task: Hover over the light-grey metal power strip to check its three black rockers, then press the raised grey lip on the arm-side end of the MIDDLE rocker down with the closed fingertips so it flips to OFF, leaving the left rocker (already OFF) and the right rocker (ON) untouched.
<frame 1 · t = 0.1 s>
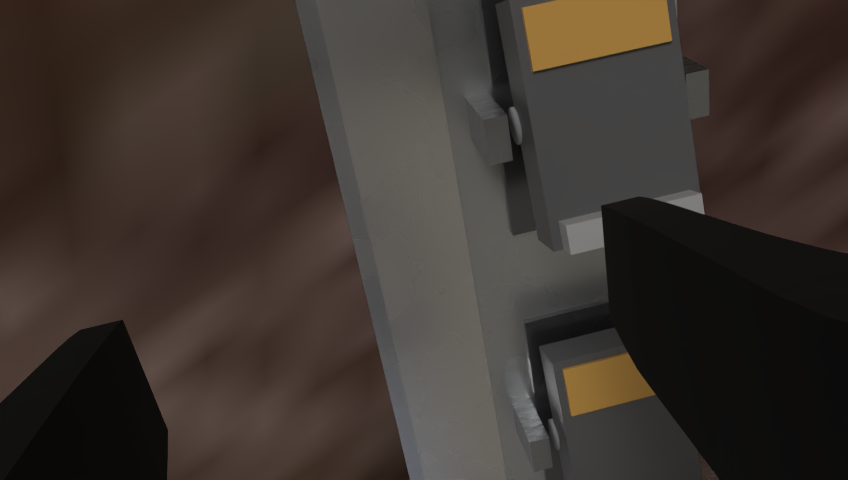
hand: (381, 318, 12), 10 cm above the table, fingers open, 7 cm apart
rocker 2: (623, 430, 20), point 5 cm above the table, hinge at 14.0°
rocker 3: (599, 110, 16), point 5 cm above the table, hinge at 14.0°
power strip: (511, 339, 25), on the table
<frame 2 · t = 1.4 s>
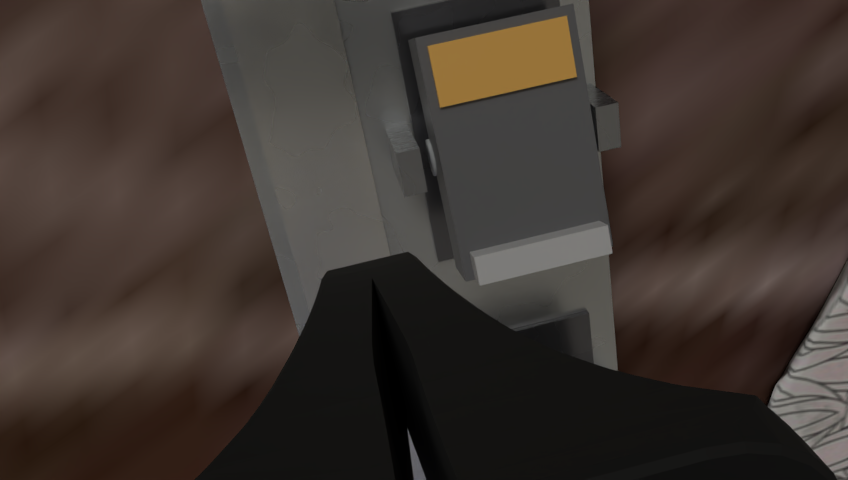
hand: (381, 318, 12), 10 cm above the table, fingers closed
rocker 2: (511, 143, 17), point 5 cm above the table, hinge at 14.0°
power strip: (404, 99, 21), on the table
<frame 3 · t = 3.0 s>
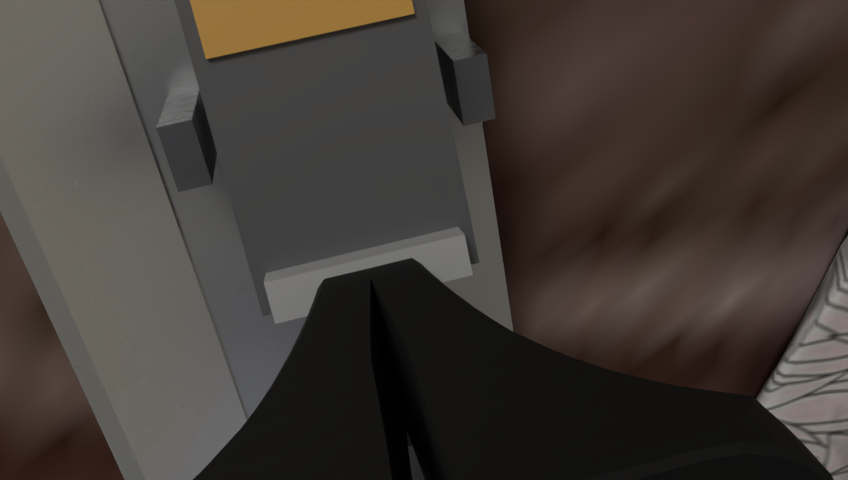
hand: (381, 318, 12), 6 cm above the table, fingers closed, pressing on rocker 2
rocker 2: (330, 114, 12), point 5 cm above the table, hinge at 12.7°, touching gripper
power strip: (238, 63, 16), on the table
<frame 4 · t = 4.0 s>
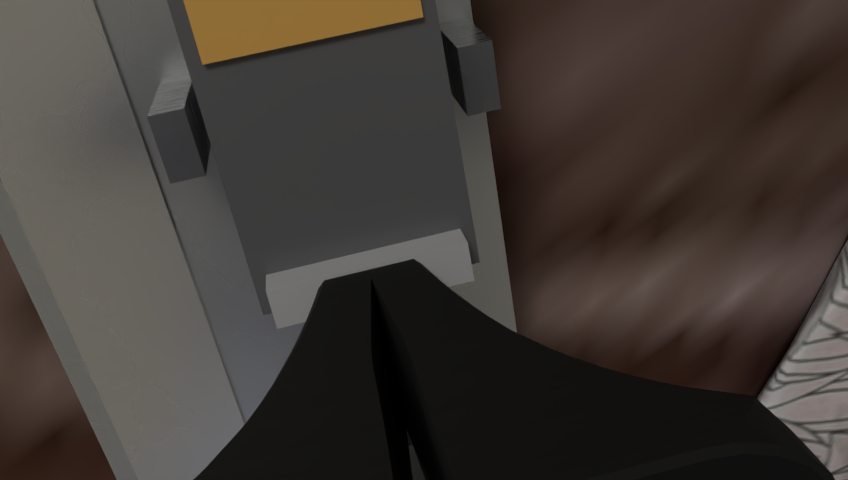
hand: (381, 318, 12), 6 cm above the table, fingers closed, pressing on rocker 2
rocker 2: (330, 111, 11), point 5 cm above the table, hinge at 3.3°, touching gripper
power strip: (234, 50, 16), on the table
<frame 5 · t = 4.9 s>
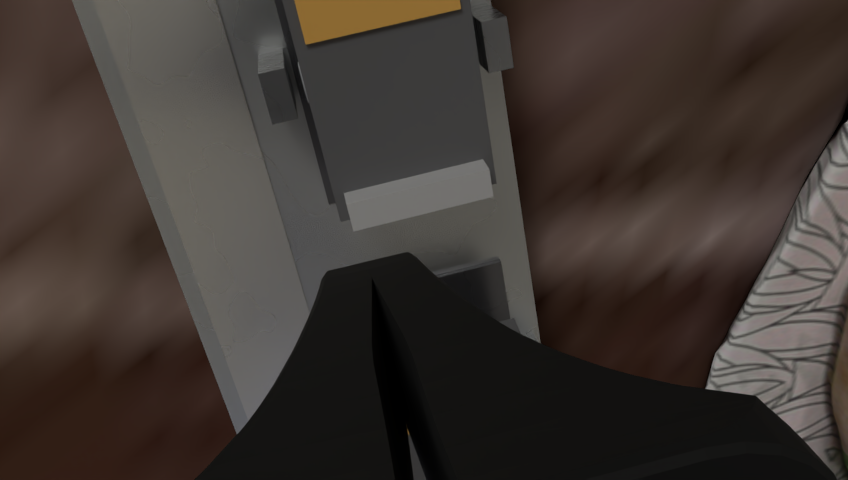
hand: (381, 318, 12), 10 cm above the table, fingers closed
rocker 1: (463, 423, 19), point 5 cm above the table, hinge at -14.0°
rocker 2: (390, 74, 15), point 5 cm above the table, hinge at -3.5°
power strip: (301, 34, 20), on the table
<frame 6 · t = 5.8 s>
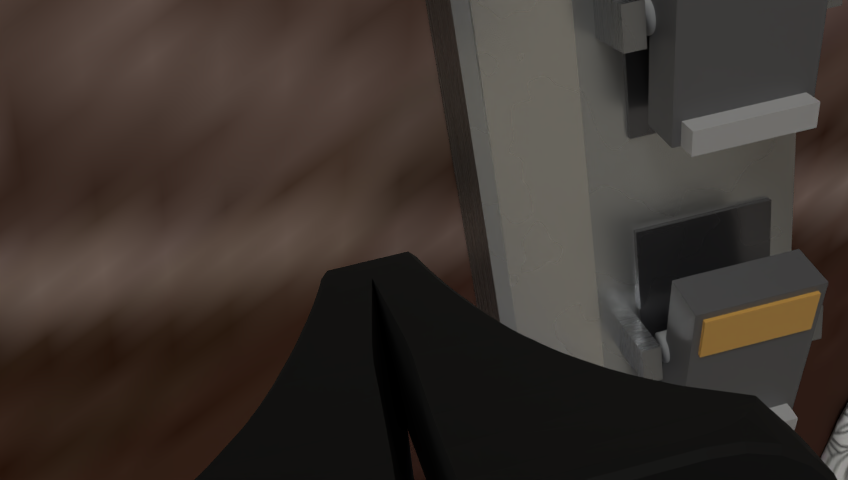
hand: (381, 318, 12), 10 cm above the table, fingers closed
rocker 1: (735, 352, 20), point 5 cm above the table, hinge at -14.0°
rocker 2: (736, 10, 16), point 5 cm above the table, hinge at -8.0°
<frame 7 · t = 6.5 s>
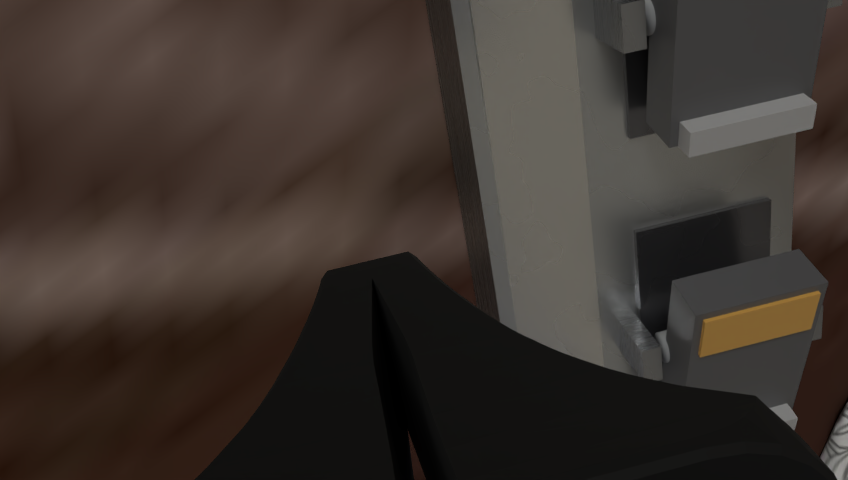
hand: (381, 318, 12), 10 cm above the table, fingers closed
rocker 1: (735, 352, 20), point 5 cm above the table, hinge at -14.0°
rocker 2: (736, 11, 16), point 5 cm above the table, hinge at -10.7°
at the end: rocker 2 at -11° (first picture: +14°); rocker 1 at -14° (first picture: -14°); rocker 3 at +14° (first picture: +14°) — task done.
